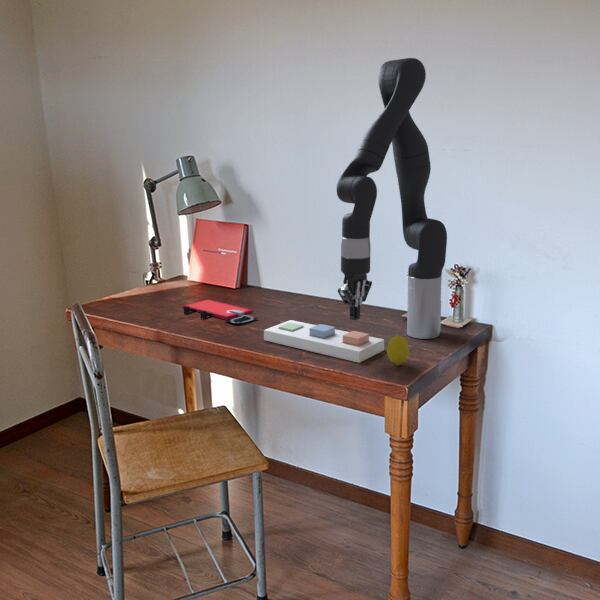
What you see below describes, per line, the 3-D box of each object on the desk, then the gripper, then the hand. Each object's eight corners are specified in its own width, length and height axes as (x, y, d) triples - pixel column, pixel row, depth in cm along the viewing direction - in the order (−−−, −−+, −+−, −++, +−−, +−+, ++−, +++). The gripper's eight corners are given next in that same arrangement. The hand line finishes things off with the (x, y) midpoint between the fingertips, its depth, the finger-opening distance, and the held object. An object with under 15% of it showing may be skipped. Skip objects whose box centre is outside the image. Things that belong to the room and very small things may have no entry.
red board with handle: (233, 328, 212) (269, 318, 223) (233, 319, 212) (269, 309, 222) (172, 311, 232) (208, 303, 243) (172, 303, 232) (207, 295, 242)
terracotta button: (353, 339, 191) (353, 330, 191) (369, 342, 188) (369, 333, 188) (342, 344, 187) (342, 335, 187) (358, 347, 184) (358, 338, 184)
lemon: (386, 368, 176) (386, 338, 174) (387, 361, 182) (387, 331, 180) (408, 369, 176) (409, 339, 173) (409, 362, 181) (409, 332, 179)
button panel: (290, 329, 209) (290, 319, 208) (383, 350, 190) (384, 339, 189) (264, 340, 200) (263, 330, 199) (359, 362, 181) (359, 351, 180)
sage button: (289, 330, 205) (289, 322, 204) (303, 333, 202) (303, 325, 201) (278, 335, 201) (278, 326, 200) (292, 338, 198) (292, 329, 197)
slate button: (320, 332, 198) (320, 323, 197) (335, 335, 195) (335, 326, 194) (309, 337, 194) (309, 328, 193) (324, 340, 191) (324, 331, 190)
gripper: (357, 248, 189) (357, 311, 193) (328, 256, 179) (328, 322, 183) (382, 252, 184) (380, 316, 189) (353, 260, 174) (352, 327, 179)
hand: (354, 319), depth 186 cm, fingers closed
